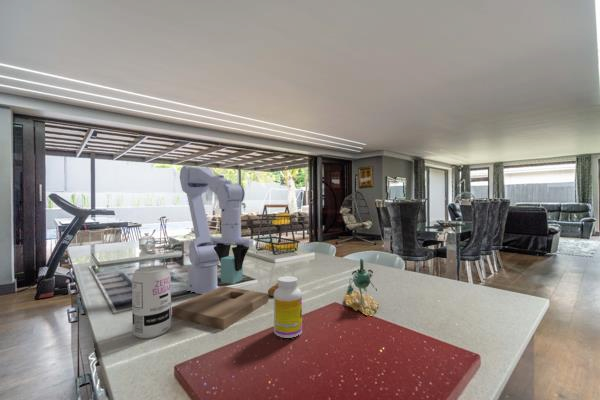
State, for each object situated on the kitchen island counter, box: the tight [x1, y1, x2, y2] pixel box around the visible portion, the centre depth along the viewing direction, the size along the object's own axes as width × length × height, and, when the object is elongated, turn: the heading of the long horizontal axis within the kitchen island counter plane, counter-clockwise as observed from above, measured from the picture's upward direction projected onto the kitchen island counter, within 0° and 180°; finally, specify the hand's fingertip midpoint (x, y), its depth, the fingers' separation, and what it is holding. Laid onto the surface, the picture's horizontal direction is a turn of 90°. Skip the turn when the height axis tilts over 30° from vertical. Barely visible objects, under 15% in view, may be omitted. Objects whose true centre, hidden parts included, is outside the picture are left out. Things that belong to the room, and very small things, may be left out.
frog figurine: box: [343, 258, 380, 317], centre depth 84 cm, size 10×18×15 cm, turn 2°
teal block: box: [220, 254, 244, 285], centre depth 85 cm, size 4×4×7 cm
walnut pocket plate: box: [171, 285, 269, 330], centre depth 82 cm, size 18×20×2 cm
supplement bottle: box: [273, 275, 303, 339], centre depth 67 cm, size 7×7×13 cm
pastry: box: [267, 282, 279, 298], centre depth 95 cm, size 9×7×4 cm
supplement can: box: [131, 265, 172, 339], centre depth 68 cm, size 8×8×15 cm
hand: (231, 269), depth 85 cm, fingers closed on teal block, 4 cm apart
